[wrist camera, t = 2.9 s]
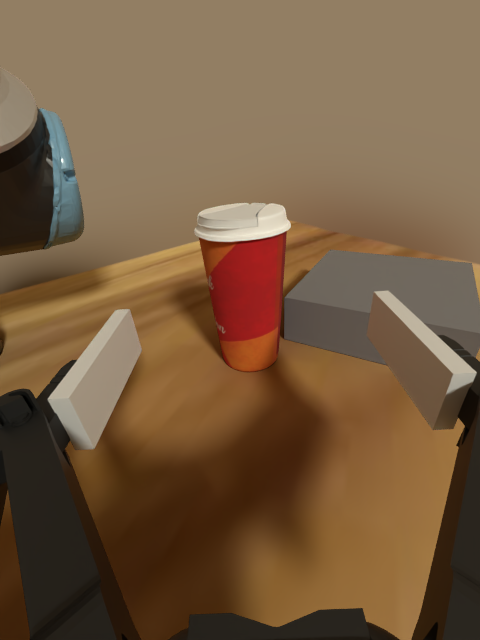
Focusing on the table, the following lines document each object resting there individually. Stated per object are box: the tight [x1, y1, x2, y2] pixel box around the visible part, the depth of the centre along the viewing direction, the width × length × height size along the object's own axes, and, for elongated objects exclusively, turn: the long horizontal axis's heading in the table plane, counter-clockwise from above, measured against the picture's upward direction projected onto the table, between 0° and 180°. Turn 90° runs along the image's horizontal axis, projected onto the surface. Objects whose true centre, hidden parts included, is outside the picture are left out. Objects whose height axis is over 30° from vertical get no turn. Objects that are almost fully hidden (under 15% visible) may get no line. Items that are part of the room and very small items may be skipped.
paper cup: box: [194, 203, 291, 372], centre depth 26 cm, size 8×8×14 cm
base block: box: [284, 250, 480, 365], centre depth 33 cm, size 16×16×5 cm
